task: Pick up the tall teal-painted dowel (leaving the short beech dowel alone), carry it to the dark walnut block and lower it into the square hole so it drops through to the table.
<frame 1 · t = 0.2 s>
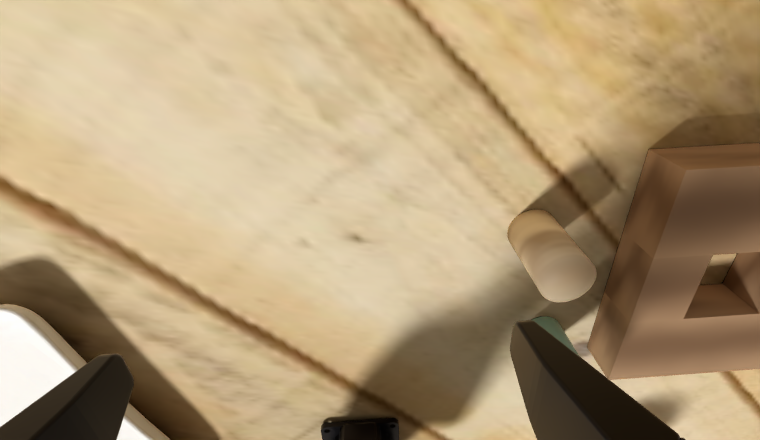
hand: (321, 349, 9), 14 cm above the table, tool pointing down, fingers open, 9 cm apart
salad plate: (28, 406, 32), on the table
walnut hole block: (700, 257, 27), on the table
long teal pin: (539, 331, 30), on the table
short beech pin: (531, 230, 25), on the table
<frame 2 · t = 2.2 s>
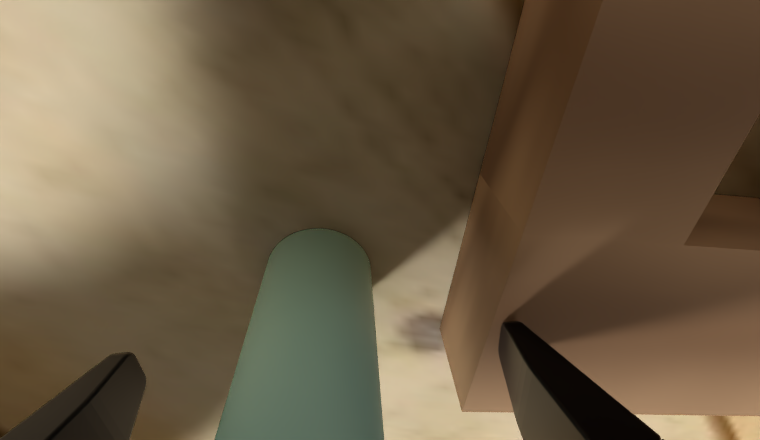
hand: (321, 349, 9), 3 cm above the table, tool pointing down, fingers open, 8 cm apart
walnut hole block: (736, 101, 10), on the table
long teal pin: (319, 272, 12), on the table
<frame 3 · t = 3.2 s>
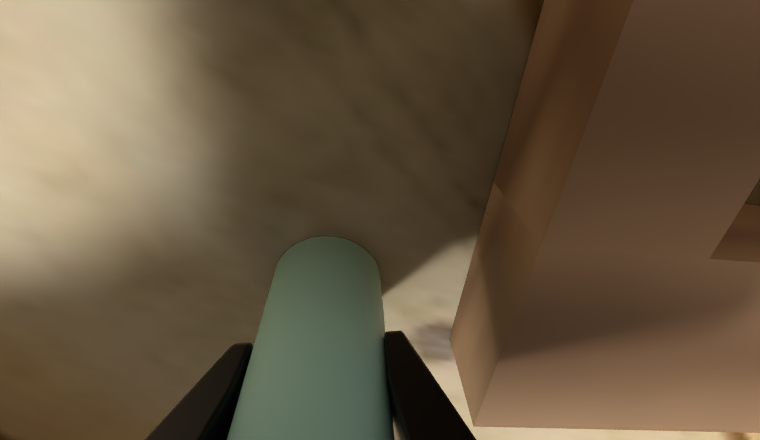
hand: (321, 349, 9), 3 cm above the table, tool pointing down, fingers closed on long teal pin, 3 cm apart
long teal pin: (328, 280, 11), on the table, touching gripper
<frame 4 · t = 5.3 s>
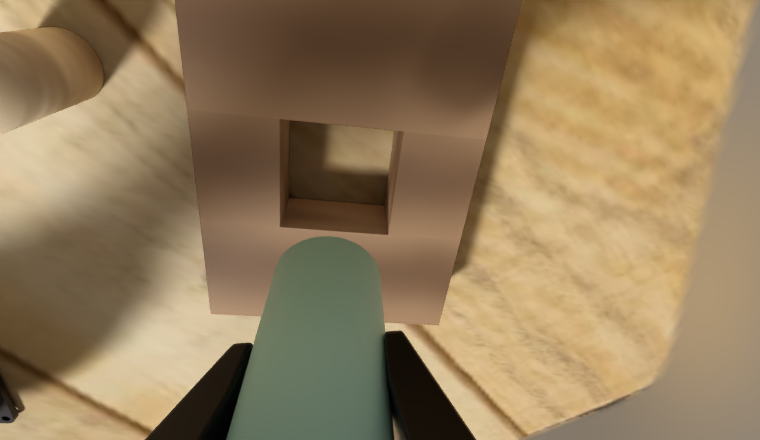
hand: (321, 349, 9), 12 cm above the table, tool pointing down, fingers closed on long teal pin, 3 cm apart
walnut hole block: (340, 157, 20), on the table
long teal pin: (327, 280, 11), point 10 cm above the table, touching gripper
short beech pin: (66, 65, 17), on the table
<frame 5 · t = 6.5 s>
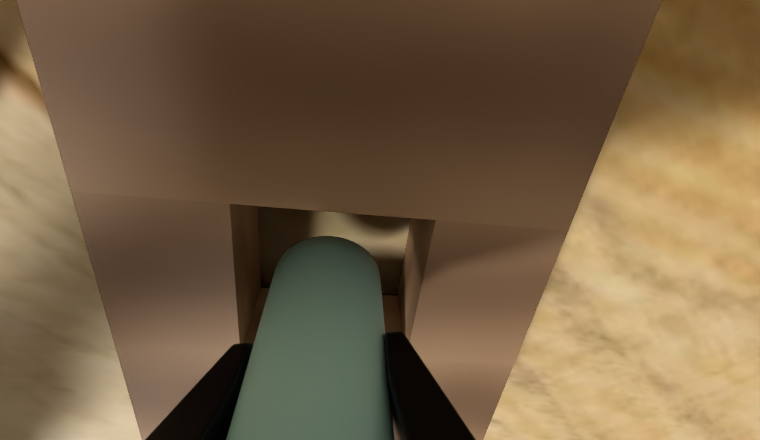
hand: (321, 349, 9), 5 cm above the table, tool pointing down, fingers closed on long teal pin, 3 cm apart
walnut hole block: (334, 234, 14), on the table
long teal pin: (327, 280, 11), point 2 cm above the table, touching gripper
when the fingers open (4 cm above the table, at t = 7.4 s): long teal pin drops 1 cm, resting in walnut hole block.
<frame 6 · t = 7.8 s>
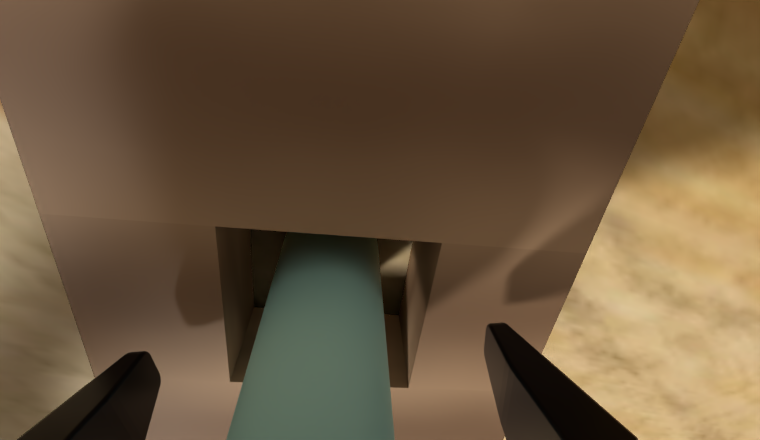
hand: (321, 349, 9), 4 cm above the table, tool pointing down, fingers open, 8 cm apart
walnut hole block: (332, 251, 13), on the table
long teal pin: (331, 251, 13), resting in walnut hole block
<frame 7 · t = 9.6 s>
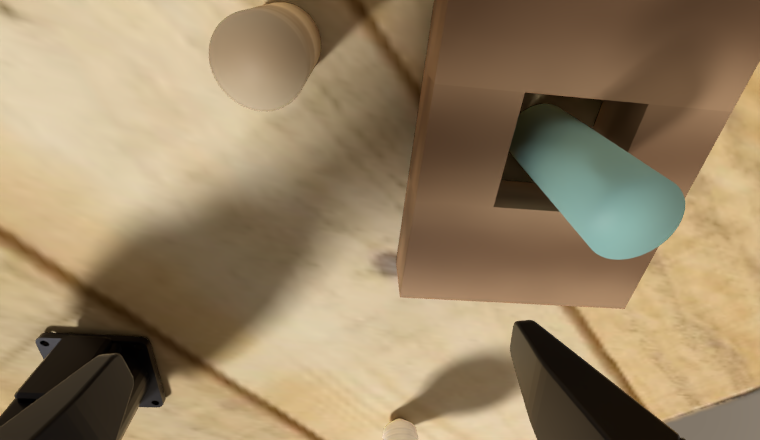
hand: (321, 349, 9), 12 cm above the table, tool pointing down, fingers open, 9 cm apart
lightbulb: (398, 418, 31), on the table
walnut hole block: (539, 135, 19), on the table
long teal pin: (538, 135, 19), resting in walnut hole block
short beech pin: (285, 42, 17), on the table
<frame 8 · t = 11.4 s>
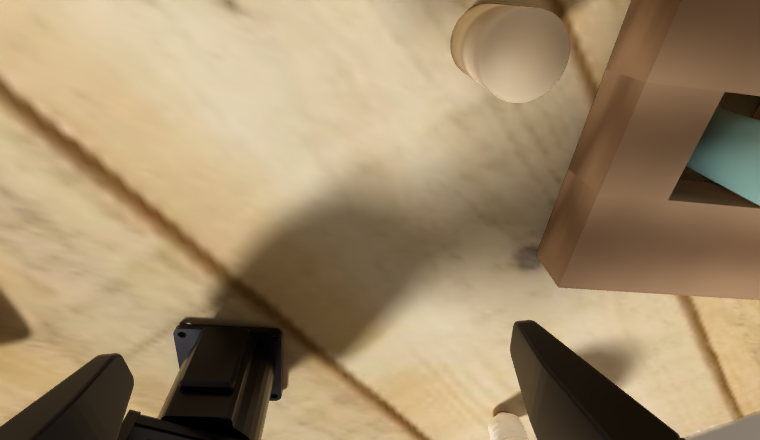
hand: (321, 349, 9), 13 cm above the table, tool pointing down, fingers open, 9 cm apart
lightbulb: (500, 412, 31), on the table
walnut hole block: (695, 134, 21), on the table
long teal pin: (694, 134, 21), resting in walnut hole block
short beech pin: (483, 41, 18), on the table
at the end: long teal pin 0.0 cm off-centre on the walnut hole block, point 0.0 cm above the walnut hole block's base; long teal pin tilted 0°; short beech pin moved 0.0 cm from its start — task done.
